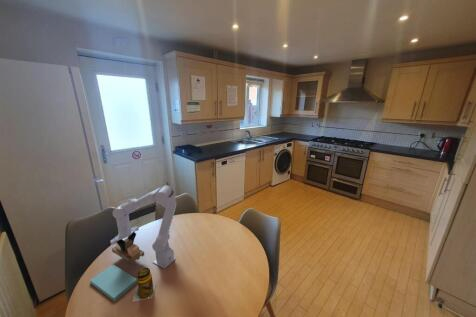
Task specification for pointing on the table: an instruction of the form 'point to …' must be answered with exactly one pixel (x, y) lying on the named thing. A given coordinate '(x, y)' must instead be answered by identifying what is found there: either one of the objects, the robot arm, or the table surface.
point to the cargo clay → (133, 250)
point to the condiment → (144, 285)
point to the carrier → (125, 253)
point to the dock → (113, 282)
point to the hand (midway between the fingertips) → (127, 247)
